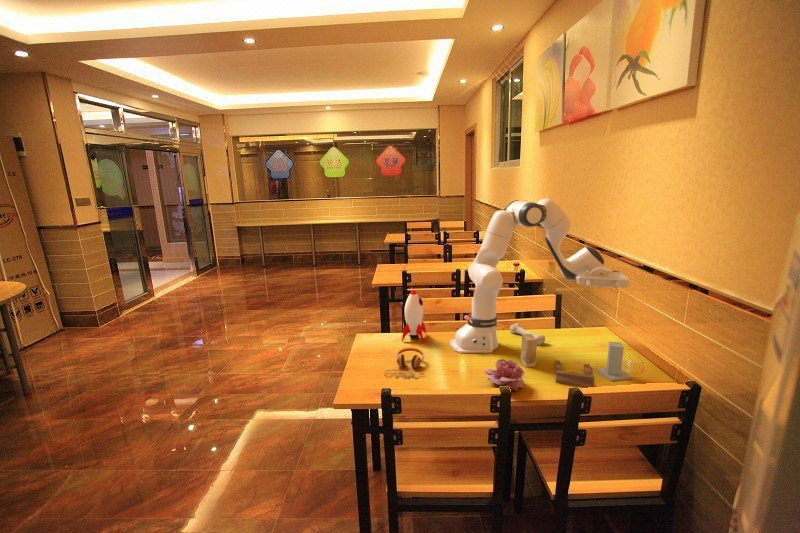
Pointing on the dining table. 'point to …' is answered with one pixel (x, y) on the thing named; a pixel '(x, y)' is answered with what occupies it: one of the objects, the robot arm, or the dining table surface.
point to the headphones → (414, 363)
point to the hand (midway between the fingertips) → (603, 285)
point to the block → (614, 358)
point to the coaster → (612, 377)
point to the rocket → (414, 316)
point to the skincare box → (528, 350)
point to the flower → (506, 374)
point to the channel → (574, 376)
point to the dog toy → (517, 329)
